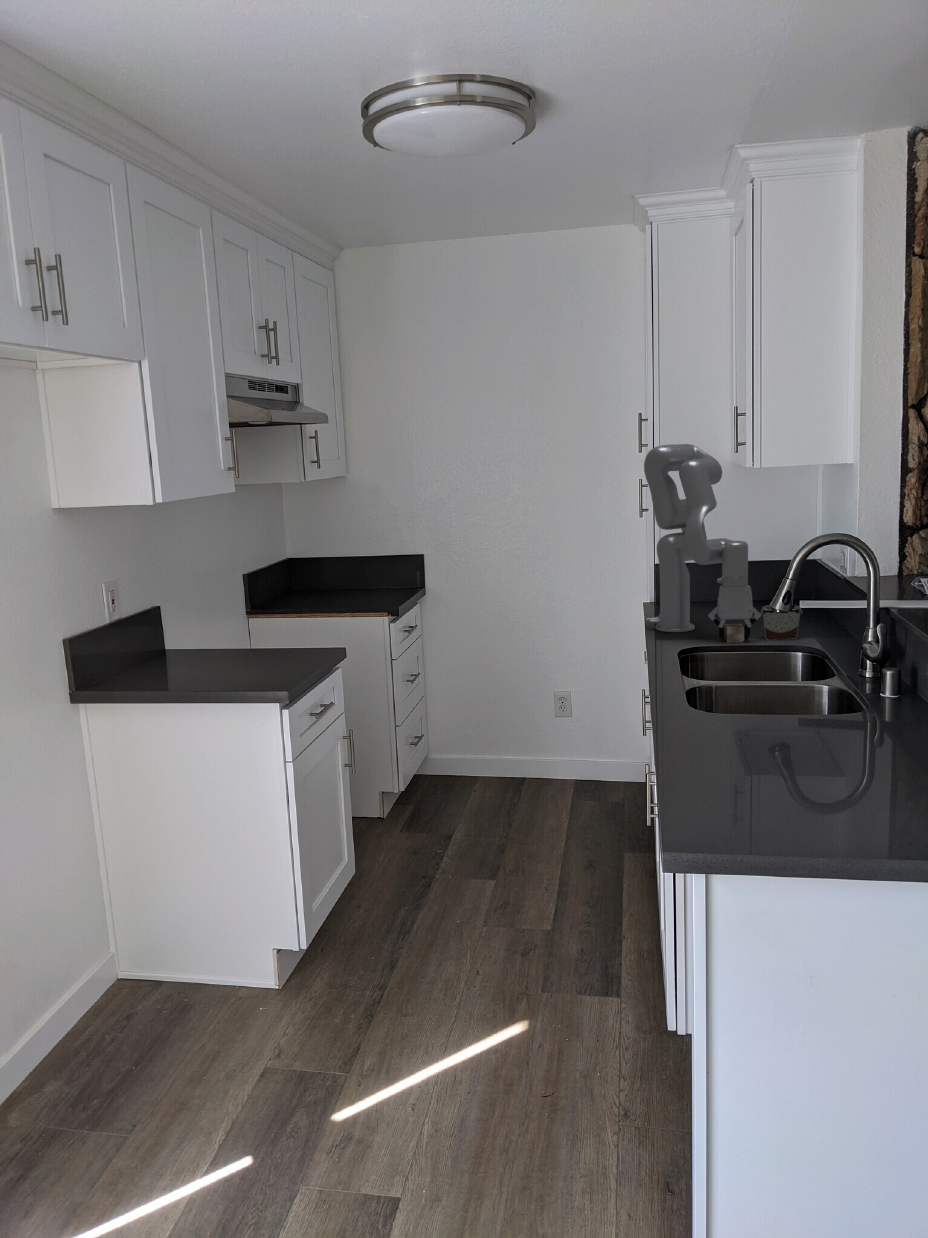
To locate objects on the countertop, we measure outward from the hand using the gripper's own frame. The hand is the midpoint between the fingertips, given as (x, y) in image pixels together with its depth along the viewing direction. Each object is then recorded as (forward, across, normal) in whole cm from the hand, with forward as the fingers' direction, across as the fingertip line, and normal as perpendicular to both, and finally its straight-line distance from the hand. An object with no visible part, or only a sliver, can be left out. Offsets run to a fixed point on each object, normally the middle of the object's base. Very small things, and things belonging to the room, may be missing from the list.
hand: (734, 639), depth 287 cm
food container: (+1, +14, +4) cm, 15 cm away
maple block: (+1, 0, 0) cm, 1 cm away
